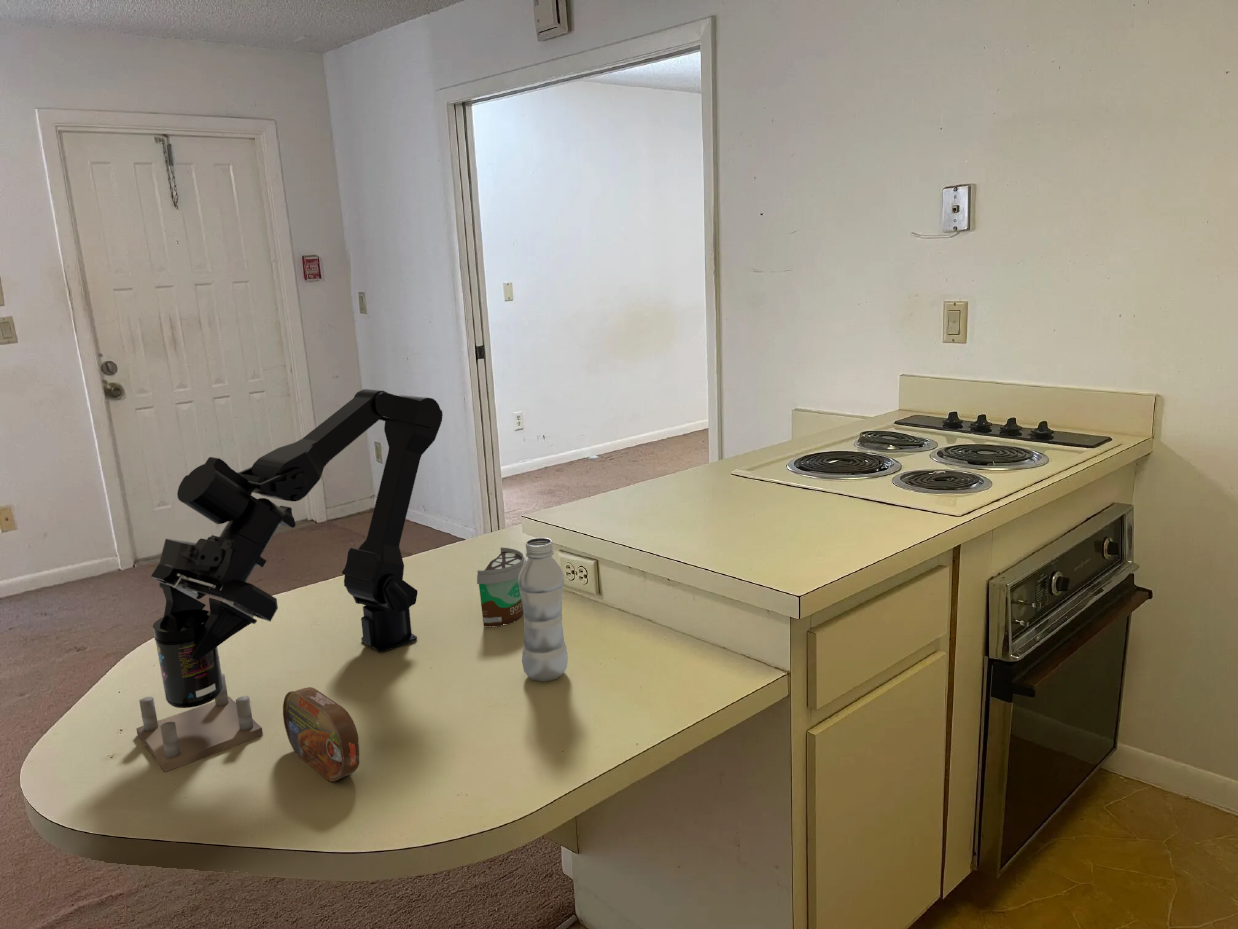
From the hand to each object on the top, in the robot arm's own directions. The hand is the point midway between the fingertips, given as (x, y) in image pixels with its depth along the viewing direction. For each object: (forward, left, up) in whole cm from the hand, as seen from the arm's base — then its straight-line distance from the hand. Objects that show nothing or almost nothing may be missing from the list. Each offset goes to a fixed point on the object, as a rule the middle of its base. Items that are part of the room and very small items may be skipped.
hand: (177, 652), depth 110 cm
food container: (-51, -2, -12) cm, 53 cm away
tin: (-10, +17, -12) cm, 23 cm away
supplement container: (-1, 0, -7) cm, 7 cm away
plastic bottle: (-42, +19, -12) cm, 48 cm away
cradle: (-1, 0, -12) cm, 12 cm away
